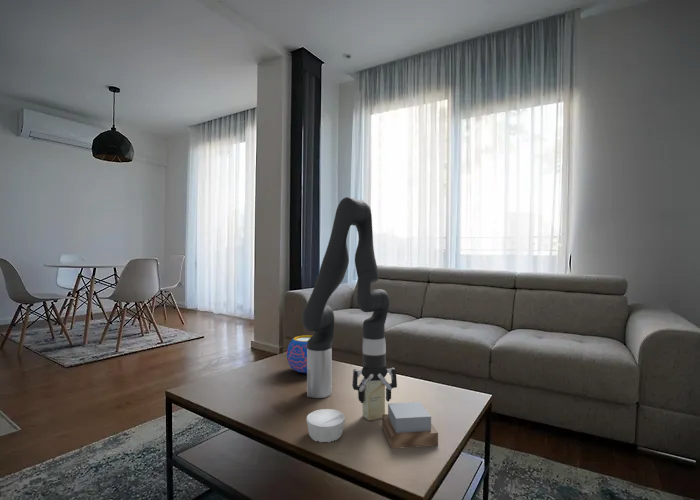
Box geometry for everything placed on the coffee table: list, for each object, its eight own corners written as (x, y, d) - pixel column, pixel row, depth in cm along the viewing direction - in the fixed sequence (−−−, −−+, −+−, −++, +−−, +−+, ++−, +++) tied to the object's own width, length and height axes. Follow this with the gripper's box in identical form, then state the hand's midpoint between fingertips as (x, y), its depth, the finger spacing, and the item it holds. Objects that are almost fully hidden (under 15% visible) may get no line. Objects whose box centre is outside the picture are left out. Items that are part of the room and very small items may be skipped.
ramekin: (340, 446, 100) (340, 427, 100) (301, 443, 101) (301, 424, 101) (347, 427, 111) (347, 410, 111) (312, 424, 112) (312, 407, 113)
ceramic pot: (333, 368, 167) (333, 335, 167) (313, 380, 150) (313, 344, 150) (300, 363, 174) (300, 332, 174) (278, 375, 158) (278, 340, 158)
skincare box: (368, 421, 114) (368, 382, 114) (361, 415, 118) (361, 378, 118) (385, 417, 117) (385, 379, 117) (378, 411, 121) (378, 375, 121)
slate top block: (396, 432, 100) (396, 418, 100) (388, 416, 110) (388, 403, 110) (431, 430, 101) (431, 416, 101) (420, 414, 111) (420, 401, 111)
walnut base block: (391, 450, 99) (391, 435, 99) (382, 427, 112) (382, 414, 112) (438, 447, 100) (438, 432, 100) (423, 425, 113) (423, 412, 113)
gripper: (353, 355, 113) (354, 407, 113) (398, 353, 115) (399, 404, 115) (351, 349, 121) (351, 398, 121) (392, 347, 122) (393, 395, 122)
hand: (374, 401), depth 118 cm, fingers open, 8 cm apart
